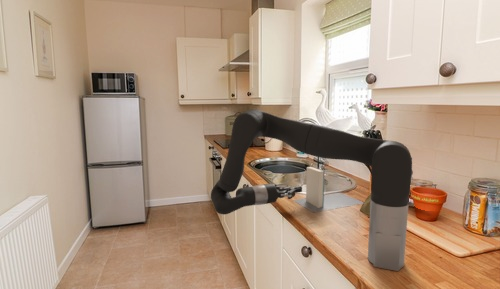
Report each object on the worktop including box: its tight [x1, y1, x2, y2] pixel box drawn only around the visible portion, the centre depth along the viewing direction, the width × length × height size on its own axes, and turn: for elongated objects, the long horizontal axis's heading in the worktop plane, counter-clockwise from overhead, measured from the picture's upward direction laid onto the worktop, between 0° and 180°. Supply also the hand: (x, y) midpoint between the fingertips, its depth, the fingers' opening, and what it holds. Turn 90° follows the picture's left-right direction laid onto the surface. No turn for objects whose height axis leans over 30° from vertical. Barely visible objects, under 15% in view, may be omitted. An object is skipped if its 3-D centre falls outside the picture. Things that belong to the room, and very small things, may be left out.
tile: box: [305, 166, 325, 208], centre depth 124 cm, size 2×9×15 cm, turn 23°
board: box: [292, 192, 365, 213], centre depth 128 cm, size 26×16×1 cm, turn 113°
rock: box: [359, 192, 371, 219], centre depth 112 cm, size 11×9×10 cm
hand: (301, 188), depth 121 cm, fingers closed
